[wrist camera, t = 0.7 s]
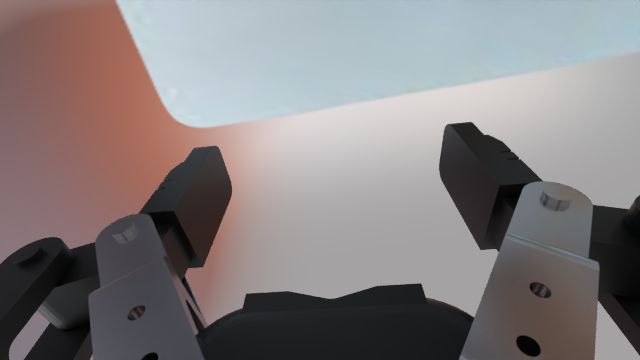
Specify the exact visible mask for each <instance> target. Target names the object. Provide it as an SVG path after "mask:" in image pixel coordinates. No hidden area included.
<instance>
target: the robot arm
mask: <svg viewBox="0 0 640 360" xmlns="http://www.w3.org/2000/svg"><path fill="white" fill-rule="evenodd" d="M439 171H440V177H441V180H442V182H443V184H444V185H445V187H446V189H447V191H448V192H449V194H450V196H451V198H452V200H453V202H454V203H455V205H456V207H457V209H458V210H459V212H460V214H461V216H462V218H463V219H464V221H465V223H466V225H467V226H468V228H469V230H470V232H471V234H472V235H473V237H474V239H475V241H476V242H477V244H478V246H479V248H480V250H485V249H497V250H498V252H499V253H498V256H497V259H496V261H495V264H494V267H493V269H492V272H491V275H490V278H489V280H488V283H487V286H486V288H485V291H484V294H483V296H482V299H481V302H480V305H479V307H478V310H477V313H476V315H475V318H474V317H472V316H471V315H469V314H468V313H466V312H464V311H462V310H460V309H458V308H456V307H454V306H452V305H449V304H447V303H444V302H441V301H437V300H434V299H430V298H426V297H425V294H424V291H423V288H422V285H421V284H406V285H388V286H376V287H373V288H369V289H366V290H362V291H359V292H356V293H353V294H349V295H346V296H343V297H339V298H335V299H326V298H321V297H315V296H310V295H305V294H299V293H293V292H288V291H286V292H269V293H252V294H246V297H245V301H244V305H243V308H242V309H239V310H236V311H234V312H232V313H229V314H227V315H225V316H223V317H222V318H220V319H218V320H216V321H215V322H214V323H212V324H211V325H209V326H208V324H207V322H206V320H205V318H204V315H203V313H202V311H201V309H200V306H199V304H198V302H197V300H196V297H195V295H194V294H193V291H192V288H191V286H190V284H189V282H188V280H187V278H186V277H185V274H186V271H187V269H188V268H197V267H203V266H204V264H205V261H206V258H207V256H208V254H209V251H210V249H211V246H212V244H213V241H214V238H215V236H216V234H217V231H218V229H219V226H220V223H221V221H222V219H223V216H224V214H225V211H226V209H227V206H228V204H229V201H230V198H231V195H232V185H231V181H230V178H229V175H228V172H227V169H226V166H225V163H224V161H223V158H222V155H221V152H220V150H219V148H218V147H217V146H208V147H198V148H194V149H193V150H192V152H191V153H190V154H189V156H188V157H187V158H186V160H185V161H184V162H182V163H181V164H179V165H178V166H176V167H175V168H174V169H172V170H171V171H170V172H169V174H168V175H167V176H166V178H165V179H164V182H162V183H161V184H160V185H159V187H158V190H156V191H155V192H154V194H153V195H152V196H151V198H150V199H149V200H148V201H147V203H146V204H145V205H144V207H143V208H142V209H141V211H140V212H139V213H138V214H132V215H129V216H125V217H123V218H120V219H118V220H116V221H115V222H113V223H111V224H110V225H108V226H107V227H106V228H104V229H103V230H102V231H101V232H100V233H99V235H98V236H97V238H96V241H95V242H94V243H90V244H87V245H84V246H80V247H77V248H73V249H69V248H68V247H67V245H66V244H65V243H64V242H63V241H62V240H61V239H60V238H57V237H56V238H55V237H49V238H44V239H41V240H37V241H35V242H32V243H30V244H28V245H26V246H24V247H22V248H20V249H19V250H17V251H16V252H14V253H13V254H11V255H10V256H9V257H8V258H6V259H5V260H4V261H3V262H2V263H1V264H0V360H9V349H10V346H11V344H12V342H13V340H14V339H15V338H16V336H17V335H18V334H19V332H20V331H21V330H22V329H23V327H24V326H25V325H26V323H27V322H28V321H29V320H30V318H31V317H32V316H33V314H34V313H35V312H36V311H38V312H39V313H40V314H41V315H42V316H43V317H45V318H46V319H47V320H48V321H49V322H50V324H49V325H48V327H47V328H46V329H45V331H44V332H43V334H42V335H41V336H40V338H39V339H38V341H37V342H36V343H35V345H34V346H33V348H32V349H31V350H30V352H29V353H28V355H27V356H26V357H25V359H24V360H90V358H91V356H92V354H93V360H594V355H595V338H596V321H597V303H598V301H599V302H600V303H601V304H602V306H603V307H604V309H605V310H606V311H607V313H608V314H609V315H610V317H611V318H612V319H613V321H614V322H615V323H616V324H617V326H618V327H619V329H620V330H621V331H622V333H623V334H624V335H625V336H626V338H627V339H628V340H629V342H630V343H631V345H632V346H633V347H634V348H635V350H636V351H637V352H638V354H639V355H640V196H638V197H637V198H636V199H635V201H634V203H633V204H632V206H631V207H630V209H621V208H613V207H605V206H596V205H593V204H592V202H591V201H590V199H589V198H588V197H587V196H586V195H584V194H583V193H582V192H580V191H578V190H576V189H574V188H572V187H569V186H566V185H563V184H560V183H555V182H547V181H546V182H545V181H542V180H541V179H540V178H539V177H538V176H537V175H536V174H535V173H534V172H533V171H532V170H531V169H530V168H529V167H528V166H527V165H526V164H525V163H524V162H523V161H522V160H521V159H520V160H519V157H518V156H516V155H515V154H514V153H513V152H511V150H510V149H509V148H508V147H507V146H506V145H505V144H504V143H503V142H502V141H500V140H498V139H496V138H494V137H491V136H489V135H484V134H483V133H482V132H481V131H480V130H479V129H478V128H477V127H476V126H475V125H474V124H473V123H472V122H466V123H456V124H448V125H446V127H445V130H444V135H443V142H442V150H441V156H440V164H439Z"/></svg>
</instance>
